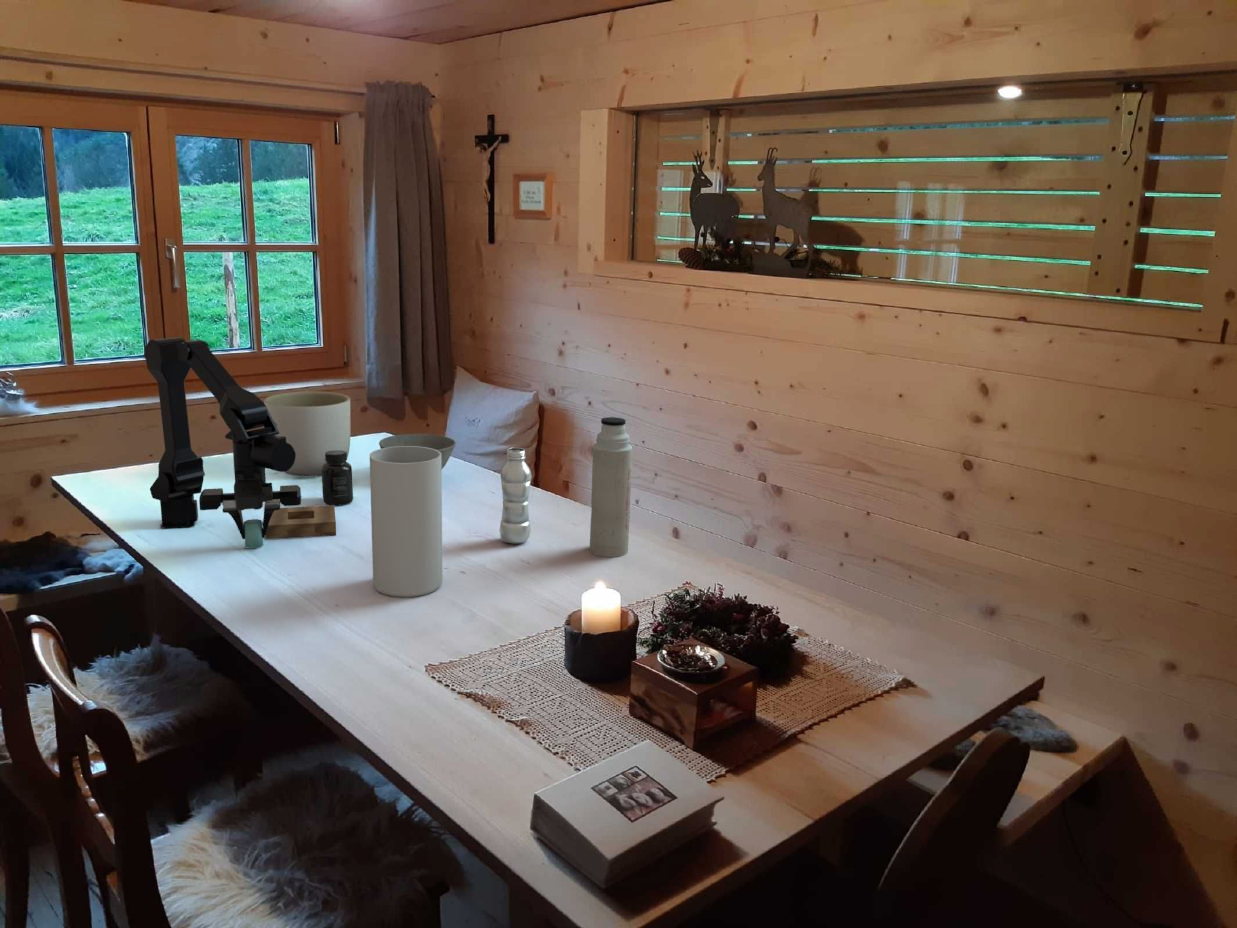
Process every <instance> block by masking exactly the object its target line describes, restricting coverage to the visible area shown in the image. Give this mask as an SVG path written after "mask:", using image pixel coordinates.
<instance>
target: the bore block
mask: <svg viewBox="0 0 1237 928" xmlns="http://www.w3.org/2000/svg"><path fill="white" fill-rule="evenodd" d="M329 536H333V537H334V536H337V523H336V508H335V506H334V505H327V504H325V505H310V506H309V505H308V506H284V507H280V509H279V510H275V511H274V512H273V514H272V516H271V518H270V521H269V524H268V528H267V531H266V535H265V540H279V539H283V540H284V539H295V538H296V539H297V538H298V539H300V538H311V537H312V538H313V537H317V538H318V537H329Z"/></svg>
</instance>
